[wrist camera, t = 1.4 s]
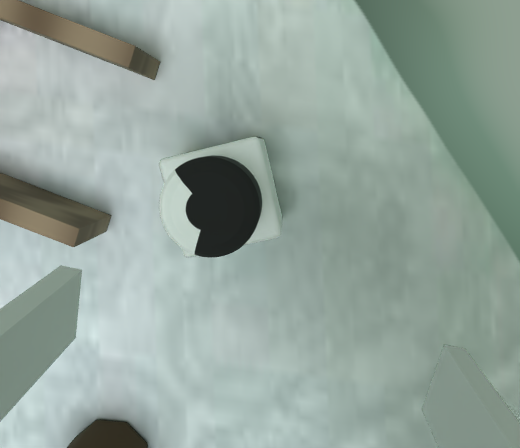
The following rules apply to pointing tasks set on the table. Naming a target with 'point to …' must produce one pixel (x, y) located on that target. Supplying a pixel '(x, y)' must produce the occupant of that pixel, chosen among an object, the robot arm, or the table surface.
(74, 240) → the box
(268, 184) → the medicine bottle
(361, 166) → the table surface
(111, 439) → the beer bottle
